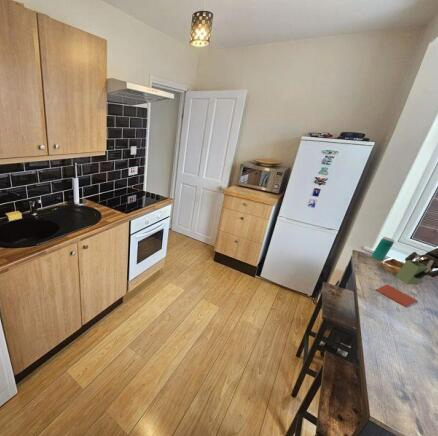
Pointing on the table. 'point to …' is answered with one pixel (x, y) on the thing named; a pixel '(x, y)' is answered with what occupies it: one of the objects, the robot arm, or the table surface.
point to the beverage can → (382, 248)
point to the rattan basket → (391, 265)
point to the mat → (396, 295)
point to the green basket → (410, 272)
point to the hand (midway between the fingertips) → (408, 272)
